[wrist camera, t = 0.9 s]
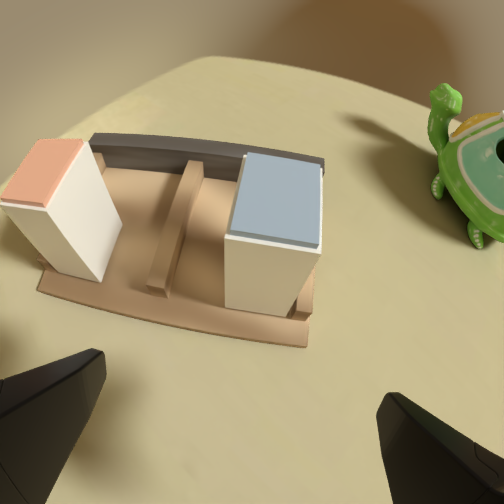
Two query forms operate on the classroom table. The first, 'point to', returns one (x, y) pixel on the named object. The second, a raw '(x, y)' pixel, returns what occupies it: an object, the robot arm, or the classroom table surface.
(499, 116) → the turtle holder
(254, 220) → the blue-topped cream block
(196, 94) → the classroom table surface
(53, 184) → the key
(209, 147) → the wooden divided tray
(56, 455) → the robot arm
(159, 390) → the classroom table surface
